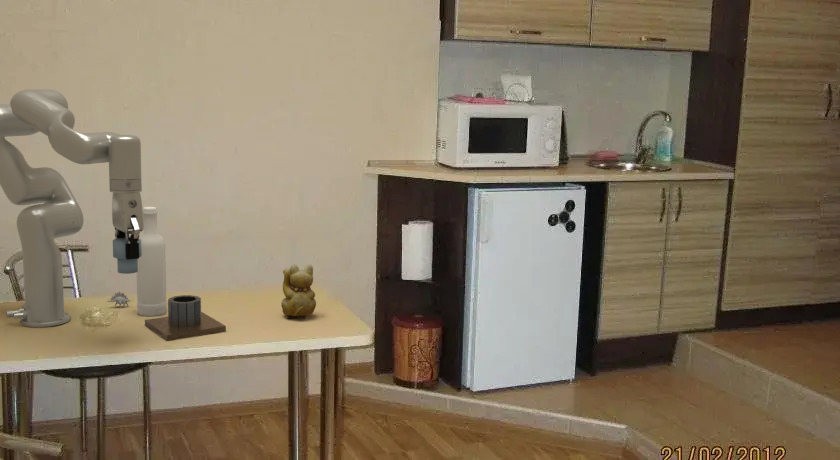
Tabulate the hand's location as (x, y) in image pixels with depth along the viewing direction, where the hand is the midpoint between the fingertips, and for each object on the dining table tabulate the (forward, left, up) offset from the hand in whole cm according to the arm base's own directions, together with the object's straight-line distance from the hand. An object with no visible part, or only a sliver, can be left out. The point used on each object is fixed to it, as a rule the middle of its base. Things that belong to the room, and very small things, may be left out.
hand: (127, 255), depth 218 cm
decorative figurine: (+46, -5, -22) cm, 51 cm away
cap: (0, 0, -4) cm, 4 cm away
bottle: (+13, +20, -22) cm, 32 cm away
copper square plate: (+15, +1, -22) cm, 26 cm away
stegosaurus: (+7, +30, -22) cm, 38 cm away
